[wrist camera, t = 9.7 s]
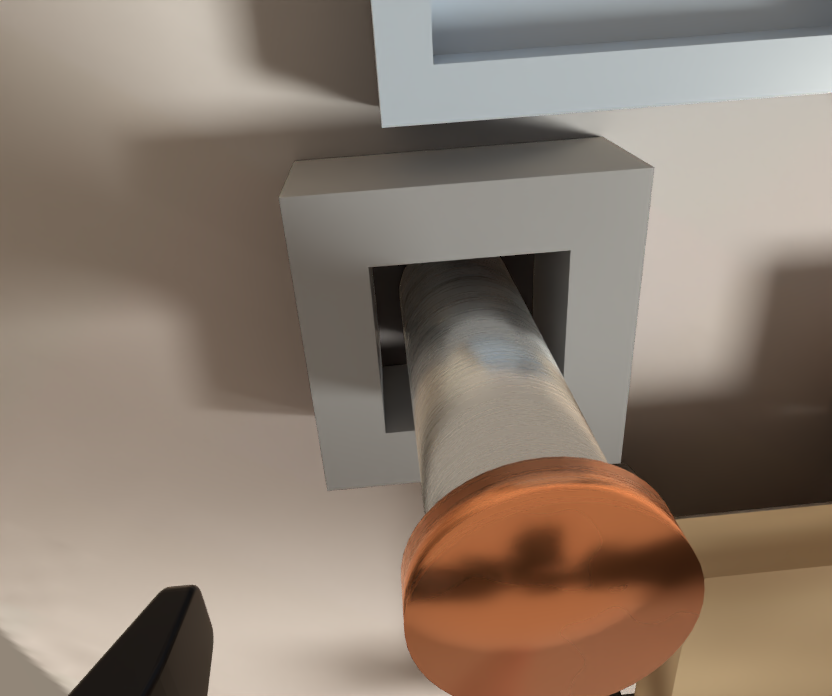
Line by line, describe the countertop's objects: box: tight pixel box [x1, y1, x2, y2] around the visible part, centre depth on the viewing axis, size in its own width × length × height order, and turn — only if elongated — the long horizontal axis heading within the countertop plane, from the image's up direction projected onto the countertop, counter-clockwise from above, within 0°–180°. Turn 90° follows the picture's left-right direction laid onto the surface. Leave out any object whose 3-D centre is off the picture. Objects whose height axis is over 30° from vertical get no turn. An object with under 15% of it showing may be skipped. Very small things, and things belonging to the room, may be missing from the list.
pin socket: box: [279, 137, 654, 491], centre depth 15 cm, size 7×7×3 cm
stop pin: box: [399, 256, 705, 696], centre depth 12 cm, size 4×4×10 cm
